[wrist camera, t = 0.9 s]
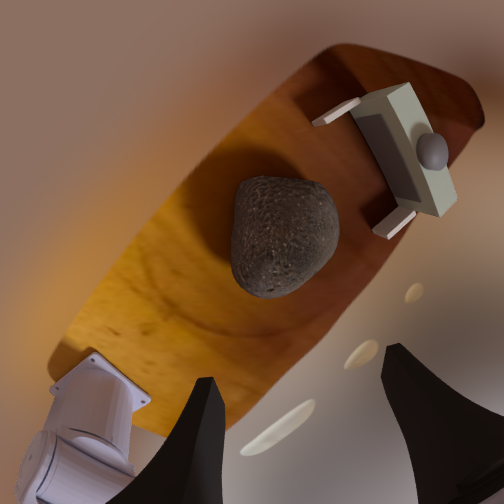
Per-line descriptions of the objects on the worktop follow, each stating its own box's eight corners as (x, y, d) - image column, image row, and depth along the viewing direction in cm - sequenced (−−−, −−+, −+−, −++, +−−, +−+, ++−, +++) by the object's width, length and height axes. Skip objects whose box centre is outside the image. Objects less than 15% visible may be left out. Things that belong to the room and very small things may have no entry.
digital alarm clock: (373, 233, 28) (420, 253, 21) (311, 122, 23) (354, 110, 17) (417, 194, 28) (466, 205, 21) (365, 88, 23) (414, 74, 17)
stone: (287, 166, 28) (221, 147, 19) (367, 203, 24) (333, 195, 16) (252, 256, 31) (181, 271, 23) (321, 299, 27) (267, 336, 19)
